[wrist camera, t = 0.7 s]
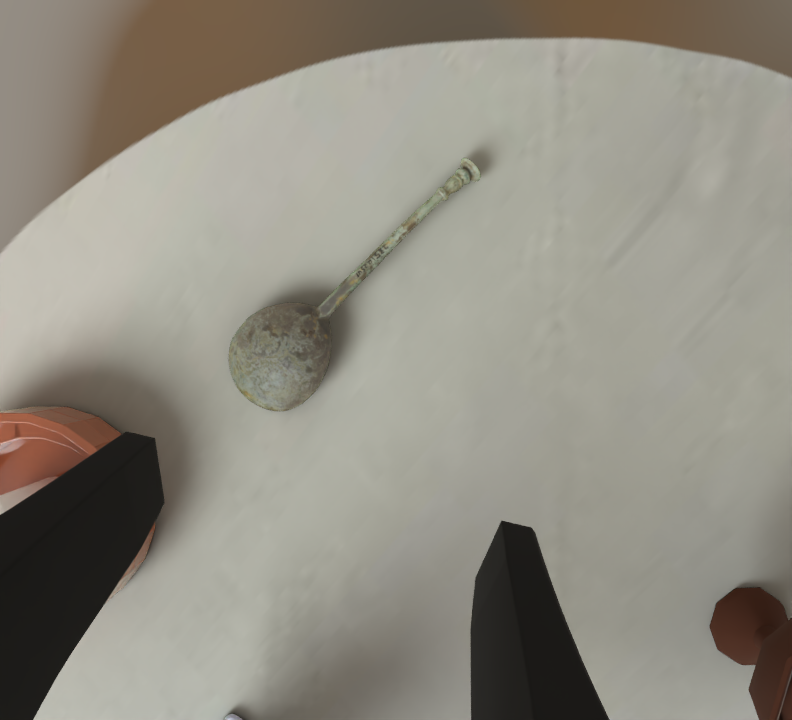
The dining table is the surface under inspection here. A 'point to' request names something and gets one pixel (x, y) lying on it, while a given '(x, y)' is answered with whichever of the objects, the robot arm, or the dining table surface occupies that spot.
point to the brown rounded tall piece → (758, 646)
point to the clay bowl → (53, 452)
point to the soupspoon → (309, 326)
